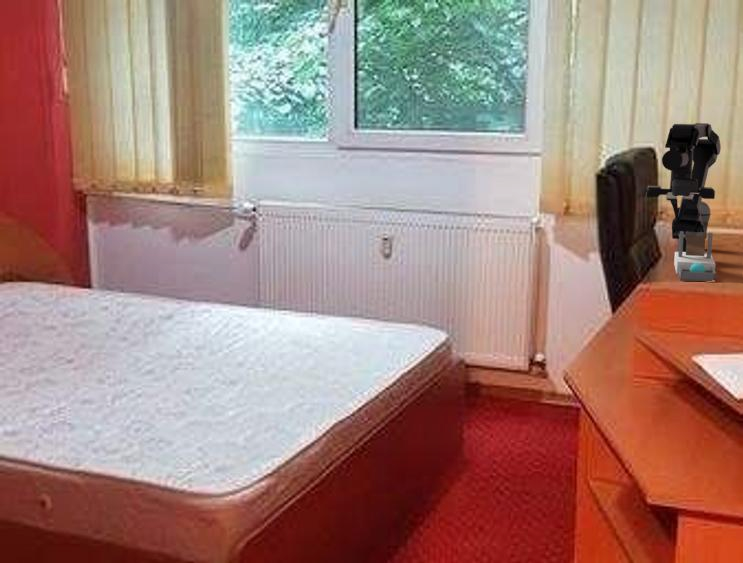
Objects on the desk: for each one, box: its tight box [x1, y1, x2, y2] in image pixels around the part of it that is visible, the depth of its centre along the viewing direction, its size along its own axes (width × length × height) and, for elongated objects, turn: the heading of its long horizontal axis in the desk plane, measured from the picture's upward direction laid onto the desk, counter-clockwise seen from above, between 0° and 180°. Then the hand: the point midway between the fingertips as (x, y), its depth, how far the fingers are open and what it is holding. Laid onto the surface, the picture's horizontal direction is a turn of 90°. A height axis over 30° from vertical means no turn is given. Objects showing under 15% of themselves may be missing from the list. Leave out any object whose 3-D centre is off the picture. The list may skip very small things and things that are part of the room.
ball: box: [690, 263, 705, 273], centre depth 254 cm, size 4×4×4 cm
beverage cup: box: [699, 200, 711, 233], centre depth 300 cm, size 7×7×20 cm
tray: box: [678, 266, 717, 282], centre depth 255 cm, size 9×9×2 cm
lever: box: [686, 232, 708, 256], centre depth 268 cm, size 5×6×7 cm
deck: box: [673, 231, 716, 275], centre depth 267 cm, size 17×10×11 cm, turn 165°
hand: (677, 221), depth 271 cm, fingers closed
